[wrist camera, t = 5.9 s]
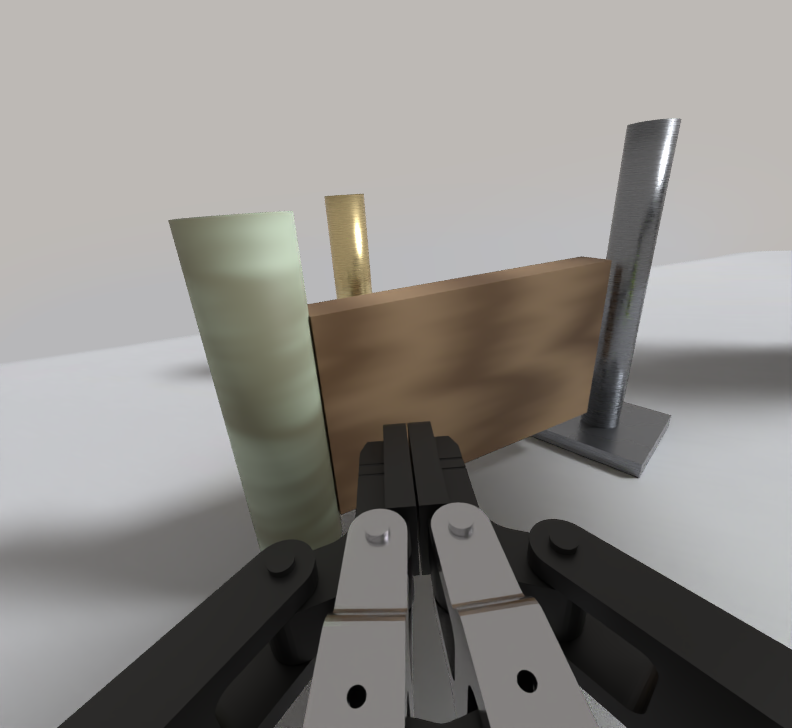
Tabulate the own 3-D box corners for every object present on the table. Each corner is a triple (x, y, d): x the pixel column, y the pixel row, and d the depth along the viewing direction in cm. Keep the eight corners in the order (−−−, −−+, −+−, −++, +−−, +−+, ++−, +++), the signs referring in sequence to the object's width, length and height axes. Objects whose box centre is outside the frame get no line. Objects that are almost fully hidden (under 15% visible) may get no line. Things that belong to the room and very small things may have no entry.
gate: (549, 409, 23) (575, 189, 18) (597, 435, 20) (642, 186, 15) (254, 524, 16) (169, 219, 11) (269, 585, 13) (166, 221, 9)
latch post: (364, 359, 36) (348, 195, 30) (395, 370, 33) (383, 192, 27) (329, 373, 33) (304, 197, 28) (359, 386, 30) (339, 194, 25)
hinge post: (568, 397, 27) (604, 136, 21) (668, 426, 23) (751, 116, 17) (527, 434, 23) (556, 129, 17) (638, 477, 19) (732, 100, 13)
